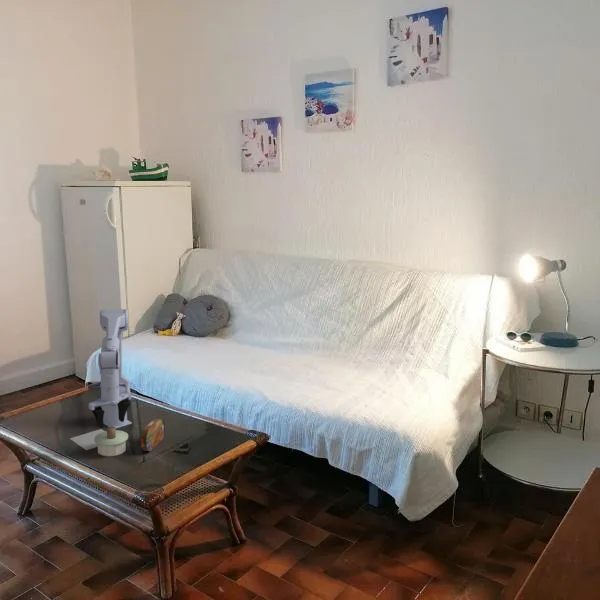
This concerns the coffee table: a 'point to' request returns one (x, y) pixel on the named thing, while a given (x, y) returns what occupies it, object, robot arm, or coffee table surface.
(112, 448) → the bowl
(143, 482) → the coffee table surface
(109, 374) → the robot arm
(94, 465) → the coffee table surface
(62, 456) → the coffee table surface
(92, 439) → the mat
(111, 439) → the lid
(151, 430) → the tin
